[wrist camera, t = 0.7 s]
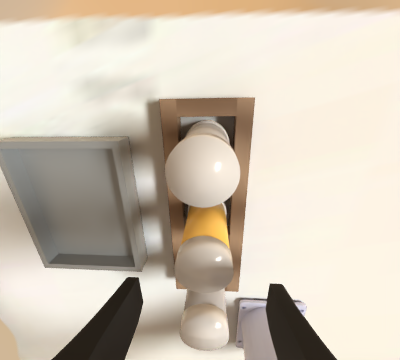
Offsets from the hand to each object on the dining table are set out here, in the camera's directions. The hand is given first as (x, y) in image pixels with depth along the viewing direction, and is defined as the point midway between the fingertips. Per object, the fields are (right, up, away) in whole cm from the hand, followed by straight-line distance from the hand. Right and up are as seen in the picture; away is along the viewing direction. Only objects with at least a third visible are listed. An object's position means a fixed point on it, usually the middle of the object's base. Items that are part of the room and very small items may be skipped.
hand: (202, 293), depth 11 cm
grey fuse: (+1, -2, +11) cm, 11 cm away
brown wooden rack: (+1, +4, +9) cm, 9 cm away
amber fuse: (+1, +4, +9) cm, 9 cm away
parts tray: (-12, +4, +9) cm, 16 cm away
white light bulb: (0, +10, +6) cm, 11 cm away
